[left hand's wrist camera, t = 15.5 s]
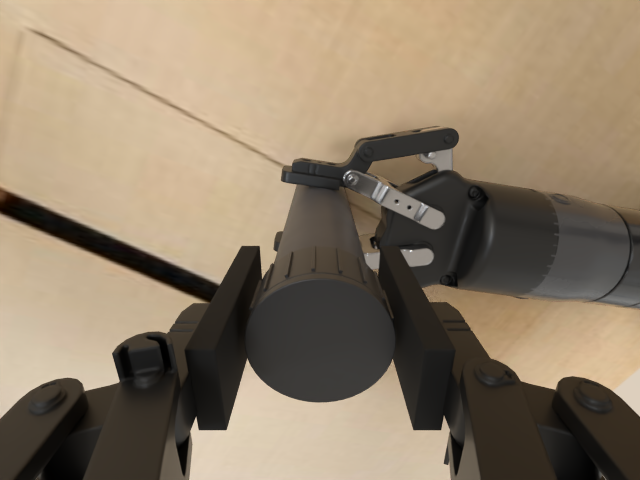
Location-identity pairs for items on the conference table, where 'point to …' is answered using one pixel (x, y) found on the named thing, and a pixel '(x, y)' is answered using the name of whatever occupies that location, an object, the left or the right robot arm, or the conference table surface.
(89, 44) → the conference table surface
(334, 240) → the bottle
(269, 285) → the lid
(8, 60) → the conference table surface
